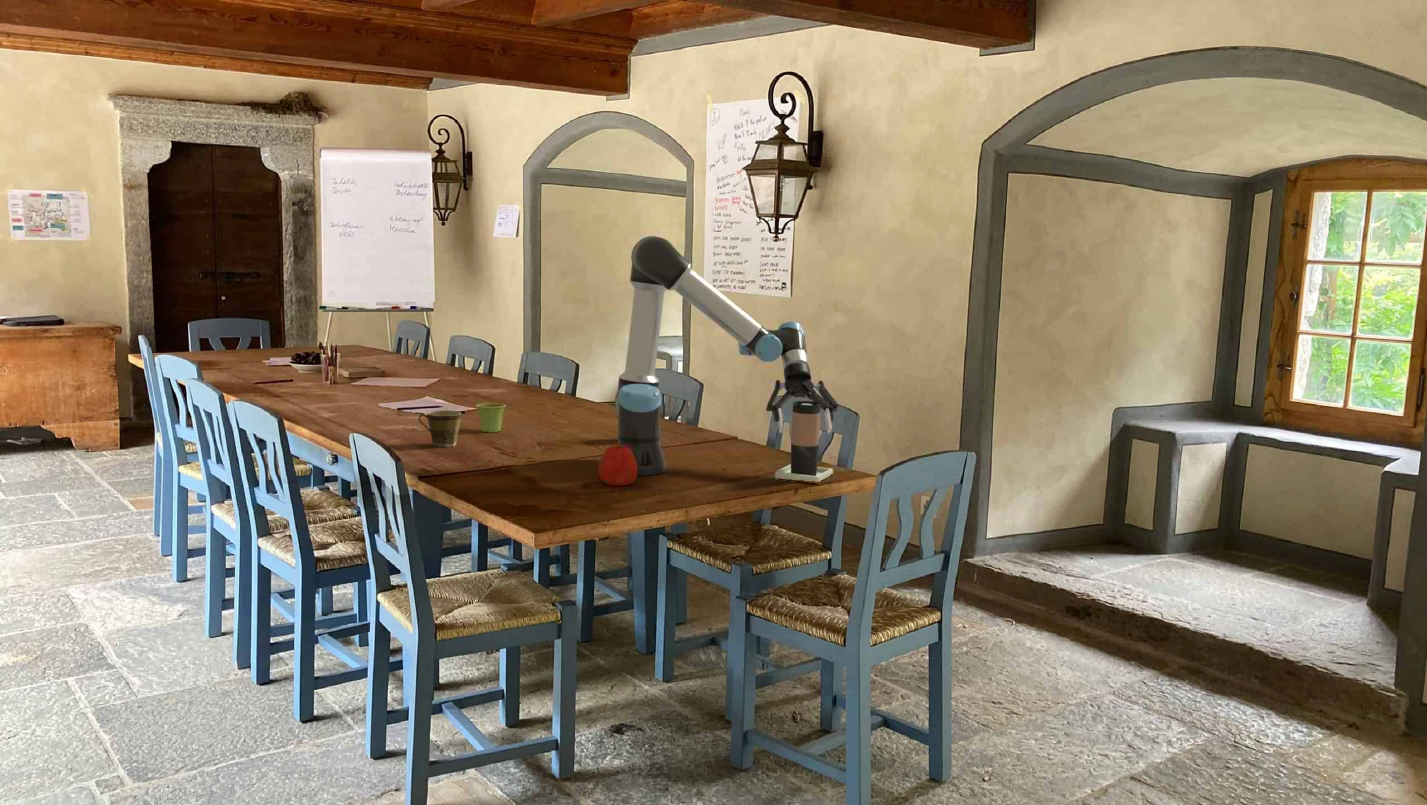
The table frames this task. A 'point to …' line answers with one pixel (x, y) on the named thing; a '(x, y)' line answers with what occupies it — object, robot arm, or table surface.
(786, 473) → the holder tray
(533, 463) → the table surface
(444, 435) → the ceramic cup
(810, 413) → the travel mug
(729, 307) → the robot arm
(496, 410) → the plant pot
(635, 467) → the apple
